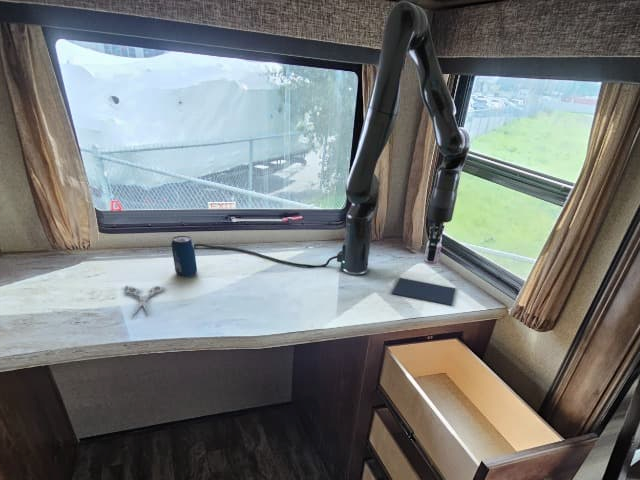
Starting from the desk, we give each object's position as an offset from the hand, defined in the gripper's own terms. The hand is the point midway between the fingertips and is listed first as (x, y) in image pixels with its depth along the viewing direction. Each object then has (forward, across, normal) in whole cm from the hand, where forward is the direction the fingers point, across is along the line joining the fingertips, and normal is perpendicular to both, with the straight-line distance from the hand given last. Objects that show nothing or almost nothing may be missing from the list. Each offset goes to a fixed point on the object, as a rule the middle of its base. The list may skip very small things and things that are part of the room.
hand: (431, 257), depth 141 cm
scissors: (+12, +46, -78) cm, 91 cm away
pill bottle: (+2, 0, 0) cm, 2 cm away
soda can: (+12, +23, -78) cm, 82 cm away
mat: (+12, 0, 0) cm, 12 cm away
